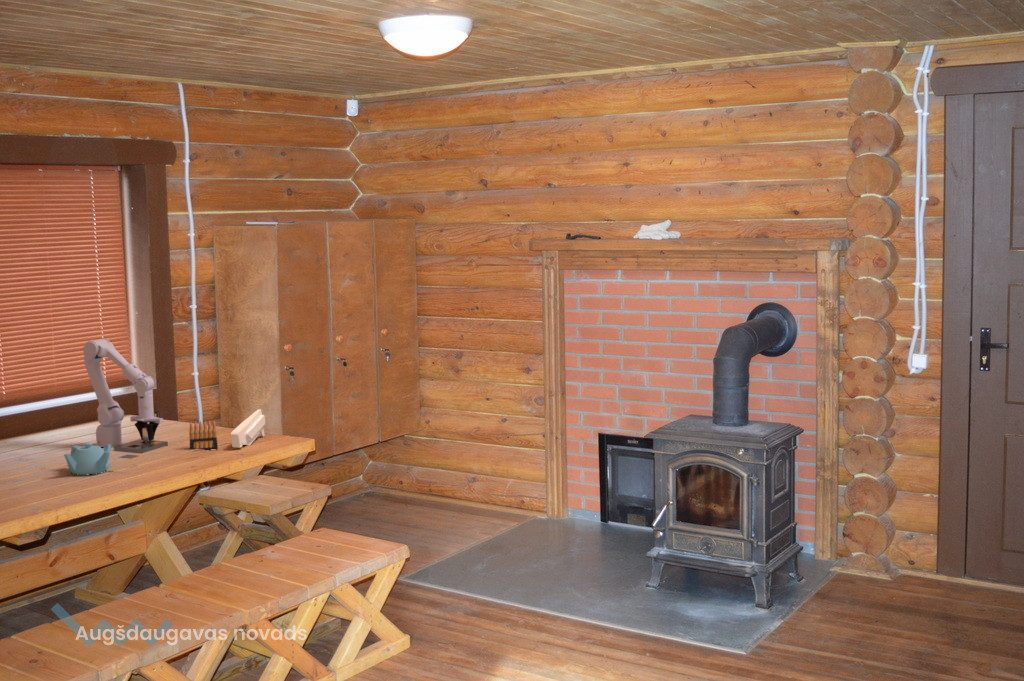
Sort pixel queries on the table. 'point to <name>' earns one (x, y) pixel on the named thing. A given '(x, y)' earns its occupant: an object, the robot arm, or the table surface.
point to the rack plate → (140, 446)
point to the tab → (129, 456)
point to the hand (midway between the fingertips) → (147, 439)
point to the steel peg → (145, 435)
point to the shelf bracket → (248, 430)
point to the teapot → (88, 459)
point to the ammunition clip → (203, 436)
